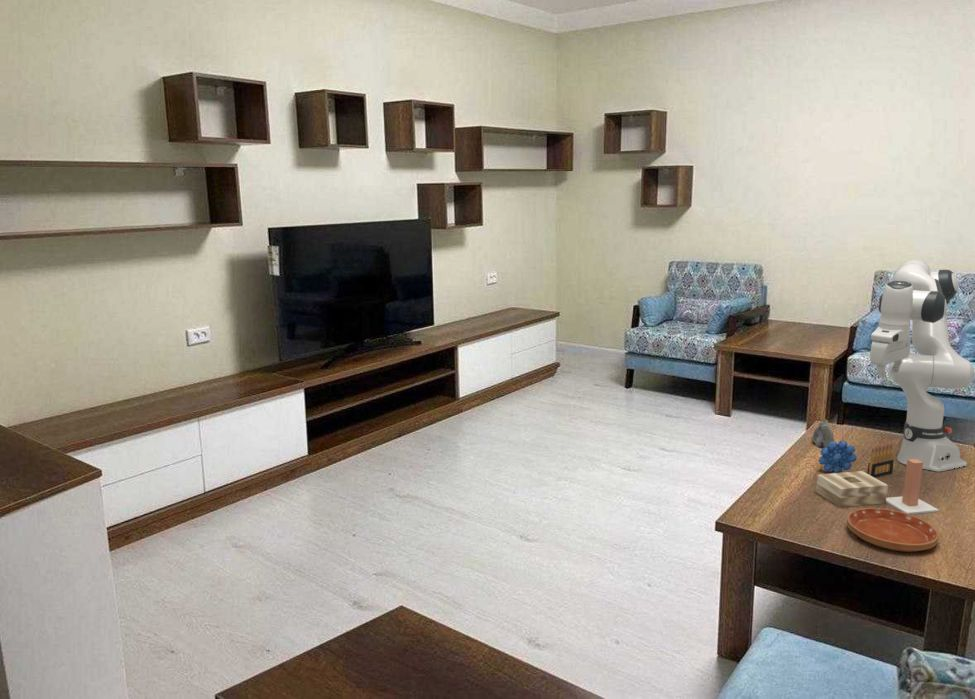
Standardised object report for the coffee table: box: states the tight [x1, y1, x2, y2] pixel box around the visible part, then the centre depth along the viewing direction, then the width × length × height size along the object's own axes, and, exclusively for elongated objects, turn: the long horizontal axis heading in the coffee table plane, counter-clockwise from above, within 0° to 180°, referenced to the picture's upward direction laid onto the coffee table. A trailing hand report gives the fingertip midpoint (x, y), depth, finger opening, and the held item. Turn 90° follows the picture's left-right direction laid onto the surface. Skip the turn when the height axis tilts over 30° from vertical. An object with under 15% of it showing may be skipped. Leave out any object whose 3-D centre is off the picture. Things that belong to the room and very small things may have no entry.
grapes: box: [818, 440, 858, 473], centre depth 260 cm, size 12×7×12 cm, turn 63°
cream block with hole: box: [815, 470, 889, 508], centre depth 240 cm, size 17×12×6 cm
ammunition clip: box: [866, 439, 895, 479], centre depth 258 cm, size 11×2×12 cm, turn 116°
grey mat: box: [885, 495, 940, 515], centre depth 234 cm, size 11×11×1 cm
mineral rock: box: [812, 419, 835, 449], centre depth 289 cm, size 13×11×10 cm
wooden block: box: [902, 459, 923, 506], centre depth 233 cm, size 3×3×14 cm
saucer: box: [846, 507, 940, 553], centre depth 214 cm, size 23×23×4 cm
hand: (888, 374), depth 244 cm, fingers open, 8 cm apart
